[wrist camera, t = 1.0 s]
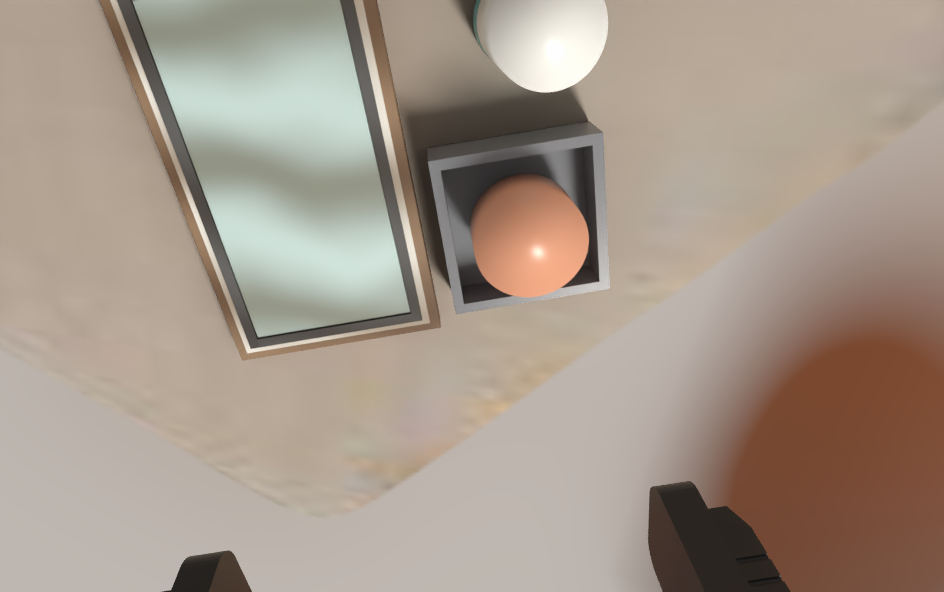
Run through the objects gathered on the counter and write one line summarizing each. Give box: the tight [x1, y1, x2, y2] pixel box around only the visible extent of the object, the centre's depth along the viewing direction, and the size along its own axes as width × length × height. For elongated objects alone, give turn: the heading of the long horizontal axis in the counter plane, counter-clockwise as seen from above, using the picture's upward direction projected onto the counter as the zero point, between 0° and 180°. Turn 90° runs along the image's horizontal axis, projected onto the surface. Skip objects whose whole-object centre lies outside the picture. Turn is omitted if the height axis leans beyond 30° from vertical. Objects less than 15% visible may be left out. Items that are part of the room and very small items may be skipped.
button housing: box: [427, 122, 610, 314], centre depth 30 cm, size 8×8×2 cm
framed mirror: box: [100, 0, 441, 360], centre depth 28 cm, size 19×11×1 cm, turn 8°
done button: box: [470, 173, 589, 297], centre depth 28 cm, size 5×5×3 cm
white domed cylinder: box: [473, 0, 608, 92], centre depth 23 cm, size 4×4×8 cm
